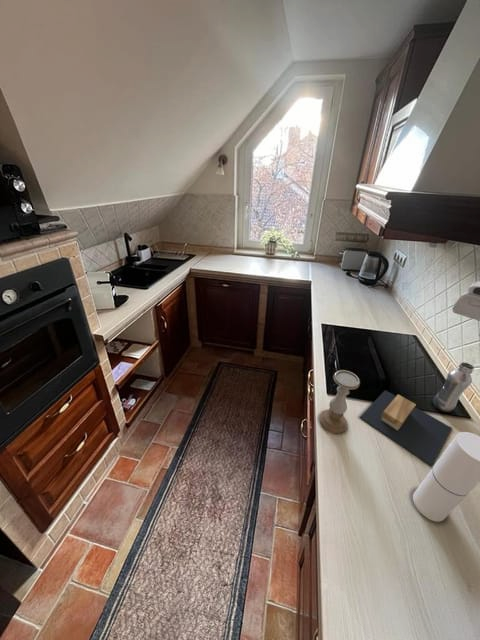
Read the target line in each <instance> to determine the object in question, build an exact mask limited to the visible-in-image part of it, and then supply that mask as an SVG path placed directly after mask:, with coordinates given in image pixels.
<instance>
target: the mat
mask: <svg viewBox="0 0 480 640" xmlns="http://www.w3.org/2000/svg"><path fill="white" fill-rule="evenodd" d="M396 396H397V395H395V394H393V393H391V392H389V391H388V390H387V389H385V390H384V391H383V392H382V393H381V394H380V395H379V396H378V397H377V398H376V399H375V400H374V402H372V404H370V405H369V407H367V409H366V410H365V411H364V412H363V413H362V414H361V415H360V417H359V418H360V419H361V420H362V421H364V422H366V423H367V424H369V425H370V426H371V427H373V428H374V429H376V430H377V431H379V432H380V433H382V434H383V435H385V436H386V437H387V438H388V439H390V440H392V441H393V442H395V443H396V444H397V445H399V446H400V447H402V448H404V449H405V450H406V451H408V452H409V453H411V454H413V455H414V456H415V457H417V458H418V459H420V460H421V461H422V462H424V463H425V464H427V465H428V466H429V467H433V465H434V462H435V460H436V459H437V456H438V455H439V453H440V451H441V449H442V447H443V445H444V443H445V442H446V440H447V437H448V436H449V433H450V431H451V430H452V427H450V426H449V425H447V424H445V423H443V421H441V420H439V419H437V418H435V417H433V416H432V415H430V414H428V413H427V412H425V411H423V410H421V409H419V408H418V407H416V406H415V408H414V409H413V411H412V412H411V413H410V415H409V416H408V418H407V419H406V420H405V422H404V423H403V424H402V426H401V427H400V428H399V430H398V431H397V430H396V429H394V428H393V427H391V426H390V425H388V424H387V423H385V422H384V421H382V420H381V418H382V414H383V411H384V410H385V409H386V408H387V407H388V405H389V404H390V403H391V402H392V401H393V400H394V398H395V397H396Z"/></svg>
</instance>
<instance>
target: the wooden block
mask: <svg viewBox="0 0 480 640" xmlns="http://www.w3.org/2000/svg"><path fill="white" fill-rule="evenodd" d="M395 396H396V397H395V398H394V400H393V401H392V402H391V403H390V404H389V405H388V407H387V408H386V409H385V410H384V411H383V414H382V418H381V420H382V421H384V422H385V423H387V424H388V425H390V426H391V427H393V428H394V429H396V430H397V431H398V430H399V428H400V427H401V426H402V424H403V423H404V422H405V420H406V419H407V418H408V416H409V415H410V413H411V412H412V411H413V409H414V408H415V407H416V406H417V404H416V403H415V402H413V401H411V400H409V399H407V398H406V397H404V396H402V395H400V394H397V395H395Z"/></svg>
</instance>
